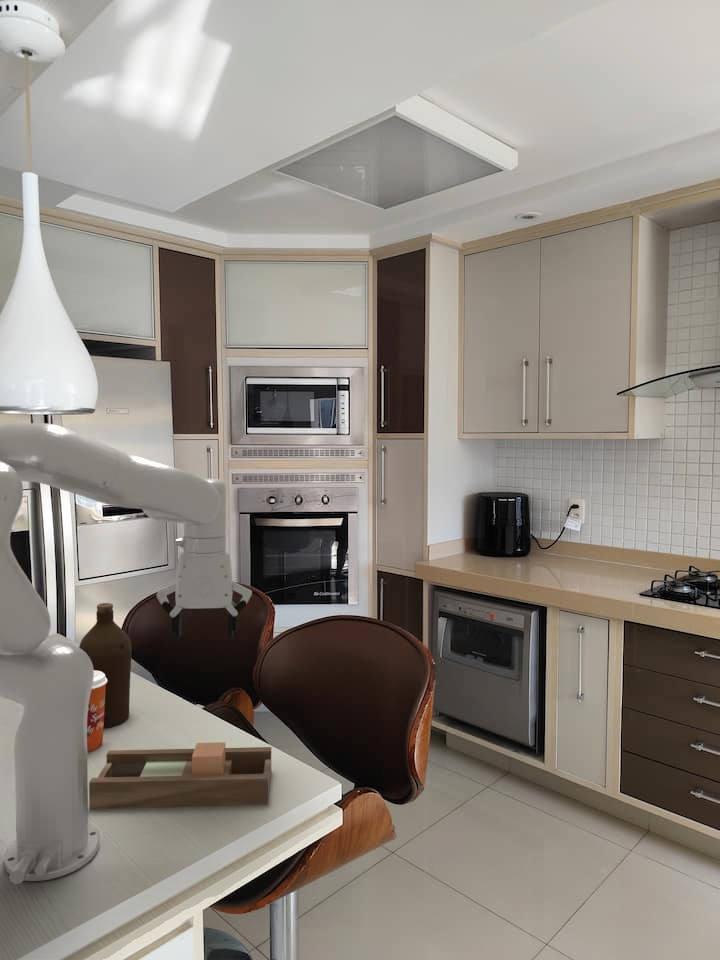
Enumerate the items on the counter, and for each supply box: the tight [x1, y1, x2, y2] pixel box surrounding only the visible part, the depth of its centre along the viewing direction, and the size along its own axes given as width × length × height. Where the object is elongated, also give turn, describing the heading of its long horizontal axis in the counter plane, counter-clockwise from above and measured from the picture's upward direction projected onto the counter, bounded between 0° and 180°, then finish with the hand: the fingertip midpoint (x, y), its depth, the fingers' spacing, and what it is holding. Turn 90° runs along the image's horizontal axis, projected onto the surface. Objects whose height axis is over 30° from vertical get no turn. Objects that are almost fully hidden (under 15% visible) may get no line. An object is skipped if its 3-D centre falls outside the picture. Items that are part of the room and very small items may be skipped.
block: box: [192, 741, 226, 775], centre depth 115 cm, size 5×5×4 cm
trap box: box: [88, 746, 272, 810], centre depth 115 cm, size 11×29×4 cm, turn 95°
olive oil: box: [78, 602, 133, 729], centre depth 141 cm, size 11×11×25 cm
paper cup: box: [87, 670, 107, 753], centre depth 130 cm, size 8×8×14 cm
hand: (204, 635), depth 124 cm, fingers open, 9 cm apart
